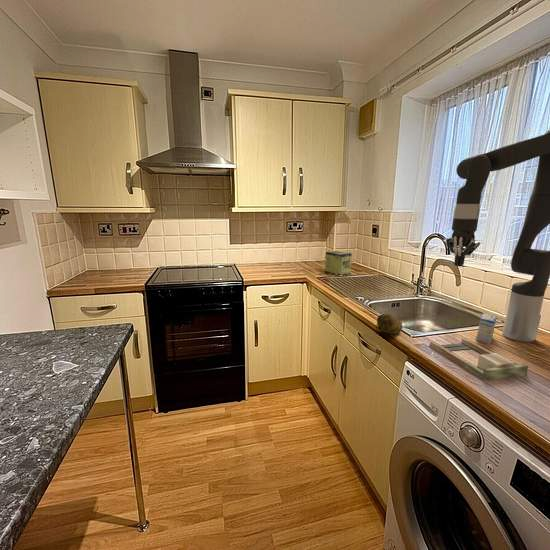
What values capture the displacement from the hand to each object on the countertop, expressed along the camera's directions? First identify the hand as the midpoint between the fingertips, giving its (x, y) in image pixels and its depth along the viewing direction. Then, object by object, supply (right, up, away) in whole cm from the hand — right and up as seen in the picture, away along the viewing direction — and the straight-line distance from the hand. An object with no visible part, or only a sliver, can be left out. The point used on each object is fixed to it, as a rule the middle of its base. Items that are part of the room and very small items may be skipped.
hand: (458, 266), depth 108 cm
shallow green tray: (-3, -30, -13) cm, 33 cm away
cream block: (-1, -32, -19) cm, 37 cm away
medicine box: (+11, -27, +2) cm, 29 cm away
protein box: (-22, -3, +107) cm, 109 cm away
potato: (-23, -26, +6) cm, 35 cm away
